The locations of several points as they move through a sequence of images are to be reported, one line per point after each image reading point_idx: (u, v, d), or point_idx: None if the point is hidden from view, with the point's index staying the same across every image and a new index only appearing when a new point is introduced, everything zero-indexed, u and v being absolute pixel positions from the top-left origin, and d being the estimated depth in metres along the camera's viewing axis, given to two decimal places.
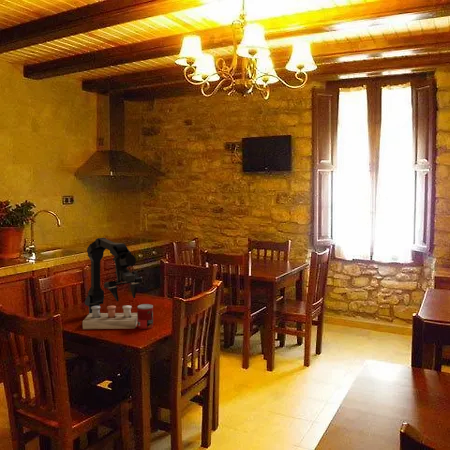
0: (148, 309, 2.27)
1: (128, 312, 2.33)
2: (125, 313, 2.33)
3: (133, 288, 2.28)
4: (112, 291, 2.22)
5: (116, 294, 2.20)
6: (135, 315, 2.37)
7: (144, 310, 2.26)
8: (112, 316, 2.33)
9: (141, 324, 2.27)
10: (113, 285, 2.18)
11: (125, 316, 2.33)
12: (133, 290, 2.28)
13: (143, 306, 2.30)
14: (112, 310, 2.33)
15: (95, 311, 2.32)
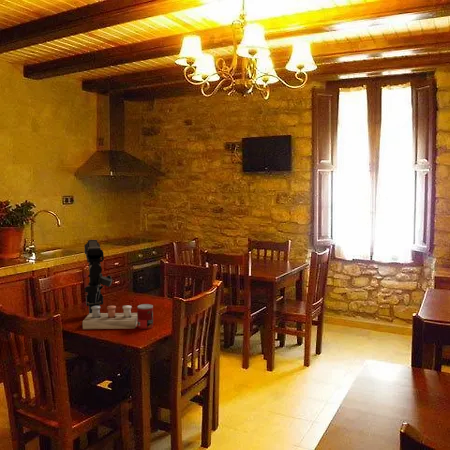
0: (148, 309, 2.27)
1: (128, 312, 2.33)
2: (125, 313, 2.33)
3: None
4: (91, 294, 2.29)
5: (96, 297, 2.30)
6: (135, 315, 2.37)
7: (144, 310, 2.26)
8: (112, 316, 2.33)
9: (141, 324, 2.27)
10: (98, 290, 2.26)
11: (125, 316, 2.33)
12: (97, 293, 2.36)
13: (143, 306, 2.30)
14: (112, 310, 2.33)
15: (95, 311, 2.32)
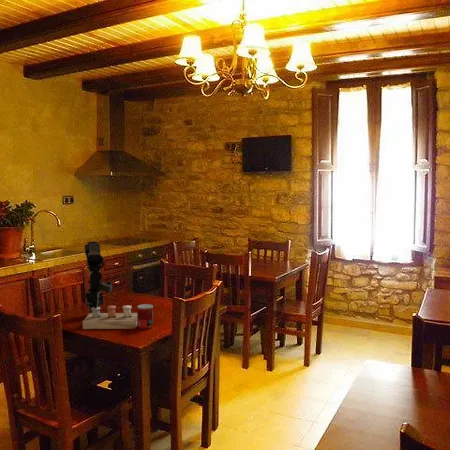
0: (148, 309, 2.27)
1: (128, 312, 2.33)
2: (125, 313, 2.33)
3: None
4: (92, 299, 2.32)
5: (97, 302, 2.33)
6: (135, 315, 2.37)
7: (144, 310, 2.26)
8: (112, 316, 2.33)
9: (141, 324, 2.27)
10: (98, 296, 2.26)
11: (125, 316, 2.33)
12: None
13: (143, 306, 2.30)
14: (112, 310, 2.33)
15: (95, 312, 2.32)
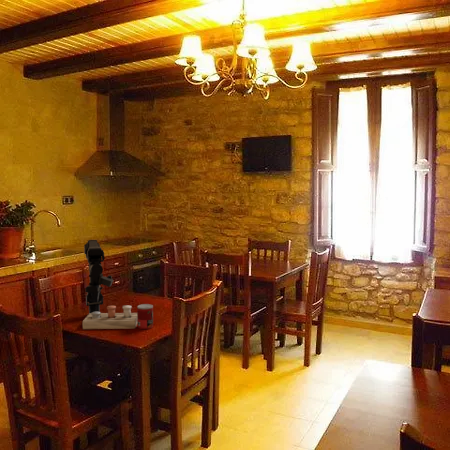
0: (148, 309, 2.27)
1: (128, 312, 2.33)
2: (125, 313, 2.33)
3: None
4: (93, 293, 2.31)
5: (97, 296, 2.32)
6: (135, 315, 2.37)
7: (144, 310, 2.26)
8: (112, 316, 2.33)
9: (141, 324, 2.27)
10: (98, 290, 2.26)
11: (125, 316, 2.33)
12: None
13: (143, 306, 2.30)
14: (112, 310, 2.33)
15: (95, 317, 2.32)
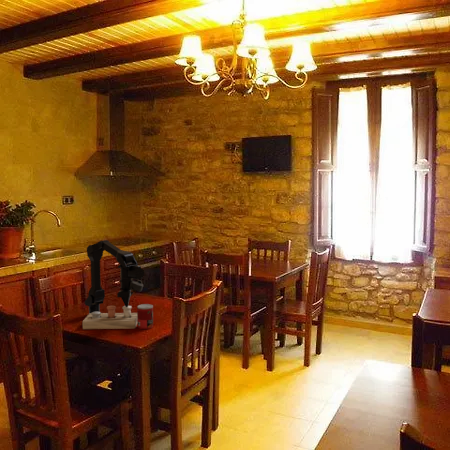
0: (148, 309, 2.27)
1: (128, 312, 2.33)
2: (125, 313, 2.33)
3: None
4: (123, 297, 2.32)
5: (128, 300, 2.33)
6: (135, 315, 2.37)
7: (144, 310, 2.26)
8: (112, 316, 2.33)
9: (141, 324, 2.27)
10: (130, 295, 2.27)
11: (125, 316, 2.33)
12: None
13: (143, 306, 2.30)
14: (112, 310, 2.33)
15: (95, 317, 2.32)
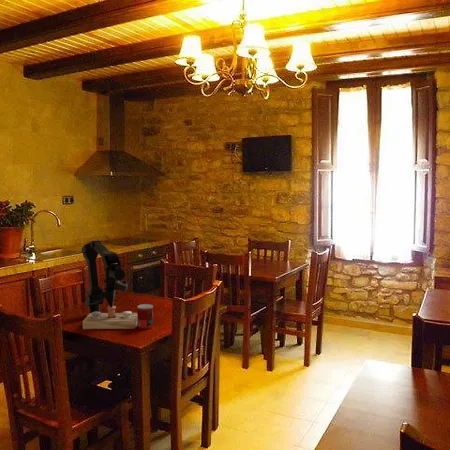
0: (148, 309, 2.27)
1: None
2: None
3: None
4: (108, 298, 2.32)
5: (113, 301, 2.33)
6: (135, 315, 2.37)
7: (144, 310, 2.26)
8: (112, 316, 2.33)
9: (141, 324, 2.27)
10: (114, 295, 2.26)
11: None
12: None
13: (143, 306, 2.30)
14: (112, 310, 2.33)
15: (95, 317, 2.32)
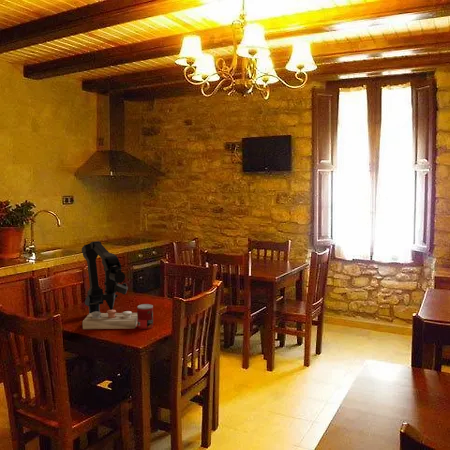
0: (148, 309, 2.27)
1: None
2: None
3: None
4: (108, 300, 2.32)
5: (113, 303, 2.33)
6: (135, 315, 2.37)
7: (144, 310, 2.26)
8: None
9: (141, 324, 2.27)
10: (114, 298, 2.26)
11: None
12: None
13: (143, 306, 2.30)
14: (112, 314, 2.33)
15: (95, 317, 2.32)
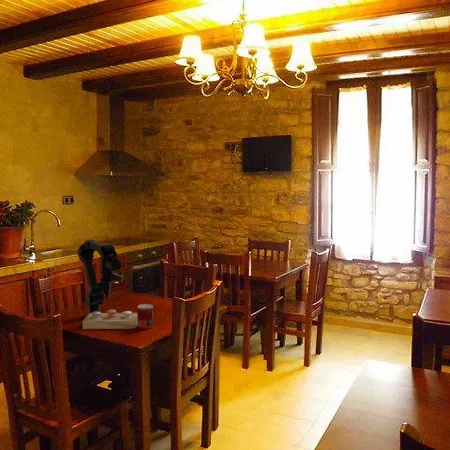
0: (148, 309, 2.27)
1: None
2: None
3: (108, 288, 2.39)
4: (104, 288, 2.36)
5: (109, 291, 2.37)
6: (135, 315, 2.37)
7: (144, 310, 2.26)
8: None
9: (141, 324, 2.27)
10: (110, 285, 2.31)
11: None
12: None
13: (143, 306, 2.30)
14: (112, 314, 2.33)
15: (95, 317, 2.32)
